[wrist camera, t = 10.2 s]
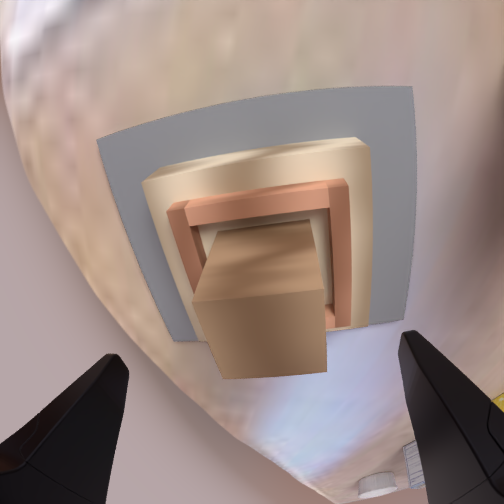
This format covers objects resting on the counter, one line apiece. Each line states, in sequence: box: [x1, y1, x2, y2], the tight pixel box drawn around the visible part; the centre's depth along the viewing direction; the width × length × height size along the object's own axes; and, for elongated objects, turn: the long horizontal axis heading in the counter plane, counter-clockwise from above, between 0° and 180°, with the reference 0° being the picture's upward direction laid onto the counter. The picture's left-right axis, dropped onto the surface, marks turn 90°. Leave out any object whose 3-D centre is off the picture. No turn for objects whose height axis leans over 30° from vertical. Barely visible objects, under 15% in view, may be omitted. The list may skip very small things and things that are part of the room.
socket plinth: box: [141, 137, 373, 342], centre depth 18 cm, size 12×12×4 cm
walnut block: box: [192, 219, 327, 379], centre depth 15 cm, size 5×5×6 cm
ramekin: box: [358, 472, 398, 498], centre depth 47 cm, size 9×9×4 cm
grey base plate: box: [97, 86, 417, 341], centre depth 20 cm, size 20×18×1 cm
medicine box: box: [403, 440, 426, 489], centre depth 34 cm, size 8×4×9 cm, turn 143°
